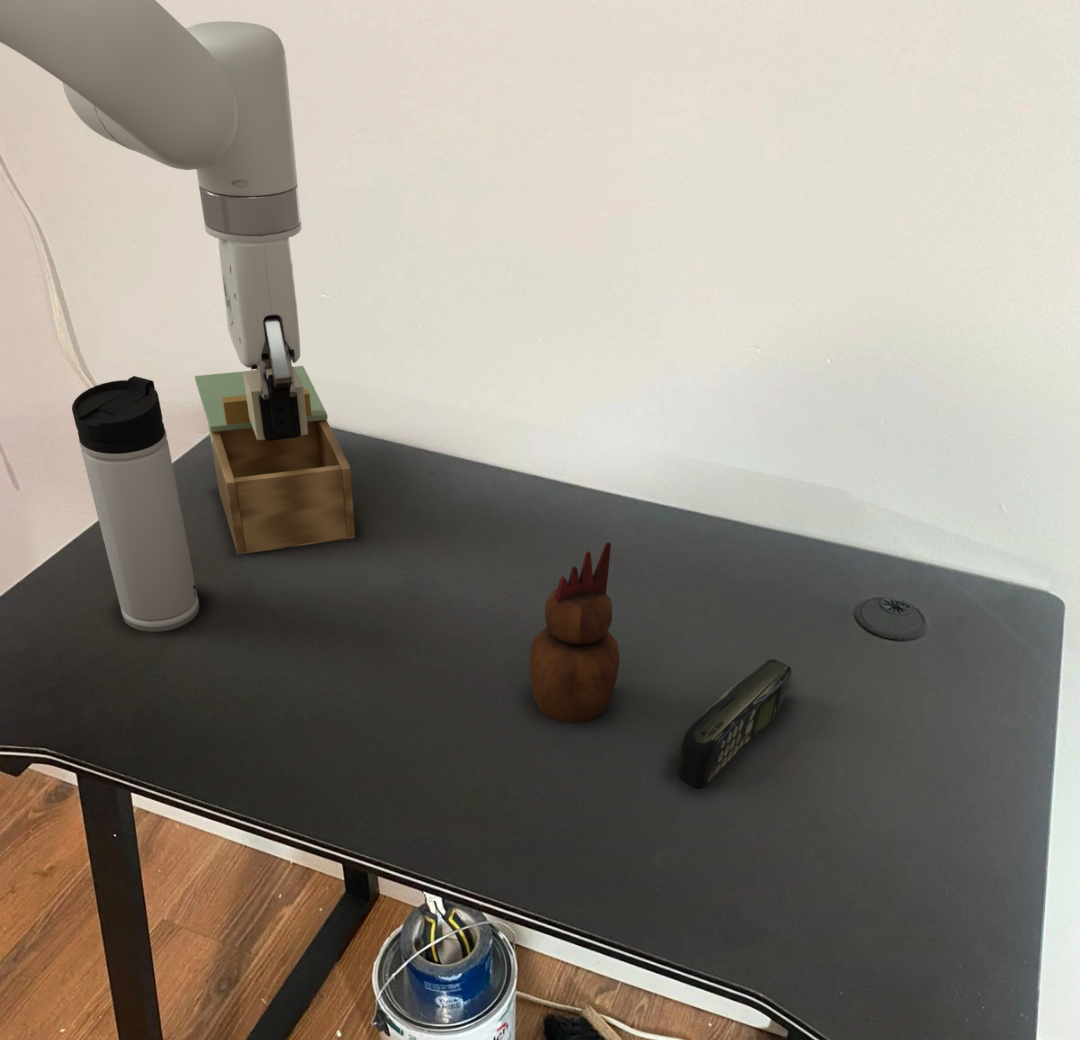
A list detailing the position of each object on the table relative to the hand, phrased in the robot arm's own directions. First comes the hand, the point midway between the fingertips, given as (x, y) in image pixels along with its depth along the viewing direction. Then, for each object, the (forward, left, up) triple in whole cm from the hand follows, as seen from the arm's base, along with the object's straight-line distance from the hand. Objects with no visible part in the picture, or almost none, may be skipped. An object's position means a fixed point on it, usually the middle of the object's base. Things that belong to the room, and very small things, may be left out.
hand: (277, 422), depth 96 cm
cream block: (0, 0, 0) cm, 0 cm away
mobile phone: (+27, -41, -11) cm, 50 cm away
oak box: (0, +1, -11) cm, 11 cm away
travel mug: (-13, -12, -11) cm, 21 cm away
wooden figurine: (+16, -34, -11) cm, 39 cm away
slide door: (0, +11, -3) cm, 12 cm away
